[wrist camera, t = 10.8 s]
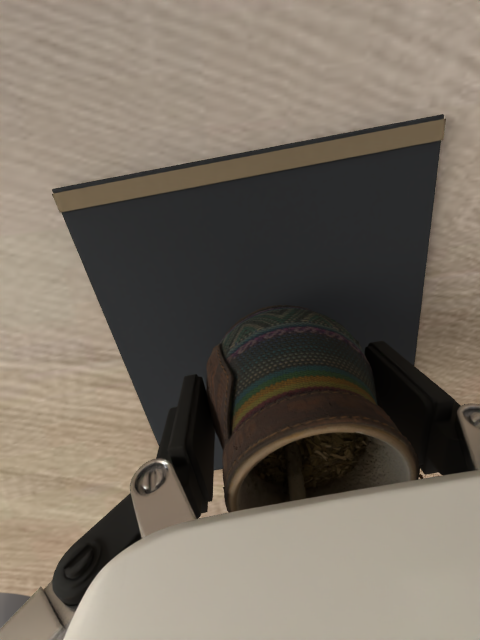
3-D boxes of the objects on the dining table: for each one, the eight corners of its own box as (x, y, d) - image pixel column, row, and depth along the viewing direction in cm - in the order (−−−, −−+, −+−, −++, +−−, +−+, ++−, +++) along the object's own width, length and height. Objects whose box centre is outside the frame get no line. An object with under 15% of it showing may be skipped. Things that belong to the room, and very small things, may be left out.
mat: (58, 190, 12) (49, 188, 12) (434, 118, 12) (446, 113, 11) (173, 470, 20) (171, 479, 20) (400, 431, 20) (406, 438, 19)
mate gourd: (345, 283, 13) (629, 458, 4) (332, 401, 16) (476, 656, 7) (202, 293, 13) (149, 504, 4) (216, 411, 16) (207, 688, 7)
